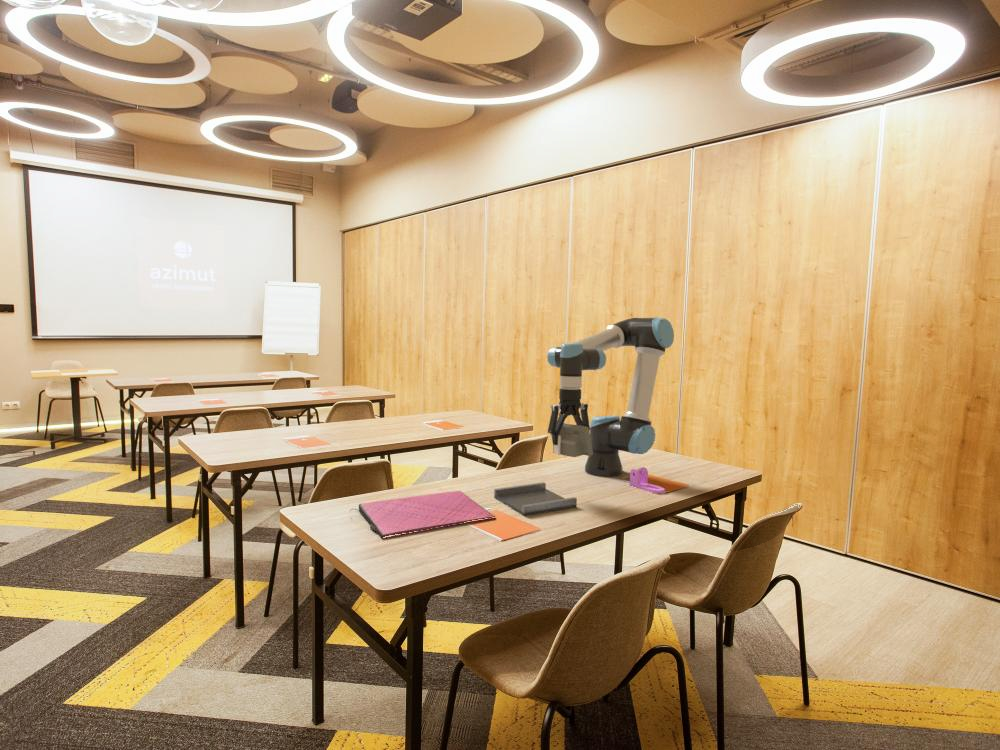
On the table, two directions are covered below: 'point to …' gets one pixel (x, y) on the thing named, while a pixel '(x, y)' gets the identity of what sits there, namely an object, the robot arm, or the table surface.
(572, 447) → the digital clock
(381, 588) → the table surface
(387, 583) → the table surface
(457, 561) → the table surface
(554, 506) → the rail plate
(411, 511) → the laptop bag
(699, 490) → the table surface
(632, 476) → the bracket
